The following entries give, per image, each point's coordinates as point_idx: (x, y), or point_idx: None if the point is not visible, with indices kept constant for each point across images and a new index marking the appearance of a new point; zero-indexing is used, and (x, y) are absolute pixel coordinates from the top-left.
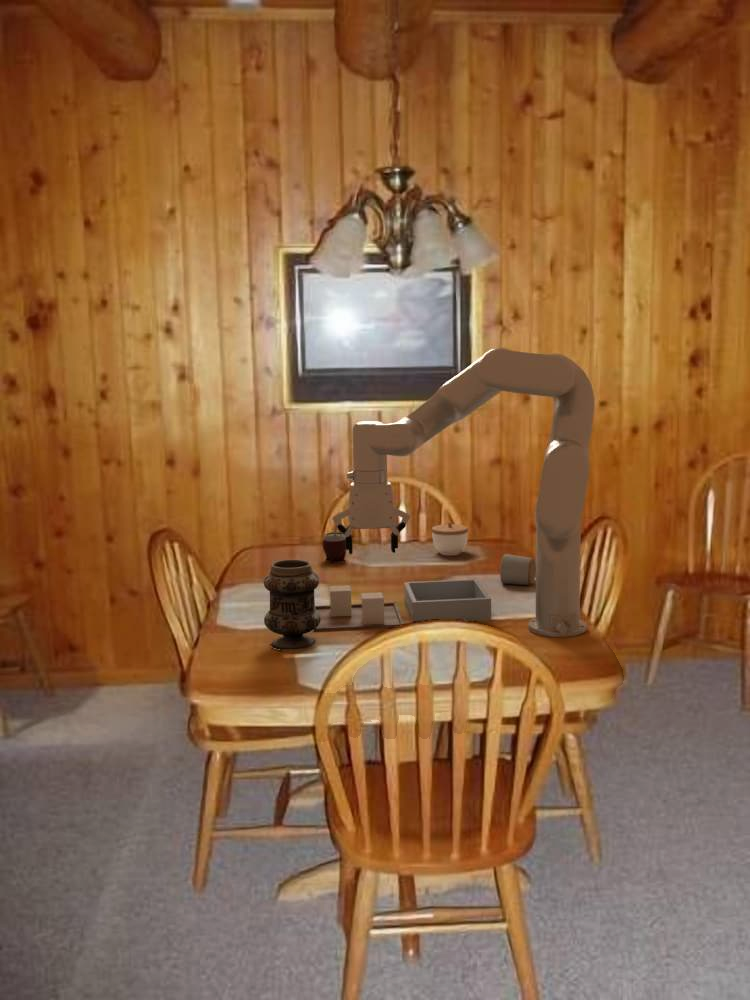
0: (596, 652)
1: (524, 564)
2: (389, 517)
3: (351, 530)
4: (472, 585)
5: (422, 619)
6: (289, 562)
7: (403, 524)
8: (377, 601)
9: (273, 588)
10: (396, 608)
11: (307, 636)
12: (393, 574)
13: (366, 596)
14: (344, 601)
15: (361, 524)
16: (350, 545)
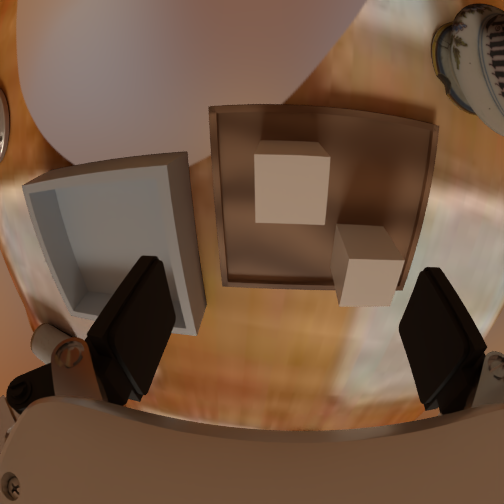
0: None
1: (36, 343)
2: (28, 496)
3: (487, 399)
4: (79, 304)
5: (161, 155)
6: None
7: (11, 393)
8: (277, 152)
9: None
10: (222, 242)
11: (454, 71)
12: (227, 408)
13: (312, 184)
14: (360, 242)
15: (470, 462)
16: (454, 302)
